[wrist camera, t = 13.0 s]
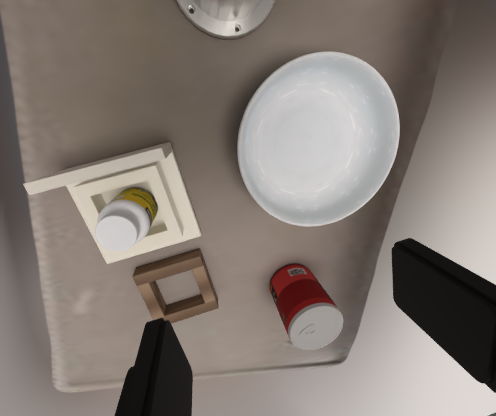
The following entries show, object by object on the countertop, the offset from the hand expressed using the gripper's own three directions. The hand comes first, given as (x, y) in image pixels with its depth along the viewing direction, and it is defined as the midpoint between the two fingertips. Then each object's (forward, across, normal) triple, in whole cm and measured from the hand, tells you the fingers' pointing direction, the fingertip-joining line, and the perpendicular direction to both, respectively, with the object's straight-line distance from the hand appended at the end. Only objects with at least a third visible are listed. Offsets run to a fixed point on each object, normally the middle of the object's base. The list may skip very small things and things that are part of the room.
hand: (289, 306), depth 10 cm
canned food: (+28, -6, +22) cm, 36 cm away
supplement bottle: (+27, +13, +1) cm, 30 cm away
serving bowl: (+29, -12, -1) cm, 31 cm away
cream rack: (+28, +13, +1) cm, 31 cm away
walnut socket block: (+28, +12, +16) cm, 34 cm away
